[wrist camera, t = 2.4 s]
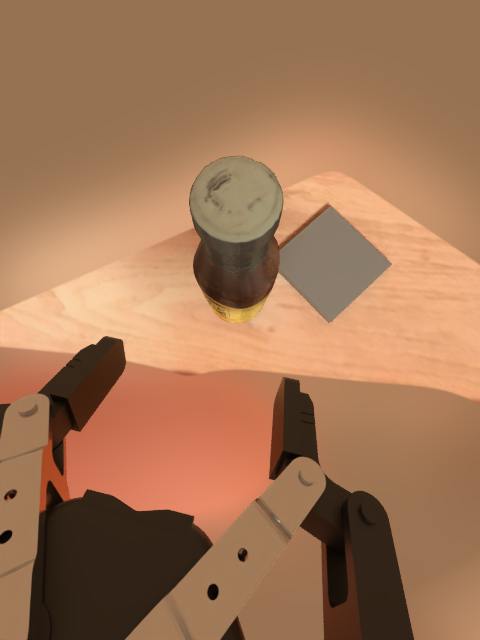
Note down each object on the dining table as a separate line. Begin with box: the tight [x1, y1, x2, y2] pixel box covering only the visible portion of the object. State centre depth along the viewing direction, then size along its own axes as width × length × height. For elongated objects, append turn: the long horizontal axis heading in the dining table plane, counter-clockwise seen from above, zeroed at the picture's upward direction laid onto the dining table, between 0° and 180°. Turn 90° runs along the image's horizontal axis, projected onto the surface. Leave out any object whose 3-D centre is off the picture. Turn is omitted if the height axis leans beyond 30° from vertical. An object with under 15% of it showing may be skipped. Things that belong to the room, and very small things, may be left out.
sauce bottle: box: [189, 156, 283, 323], centre depth 21 cm, size 6×6×20 cm
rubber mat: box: [278, 206, 392, 323], centre depth 31 cm, size 10×10×1 cm
